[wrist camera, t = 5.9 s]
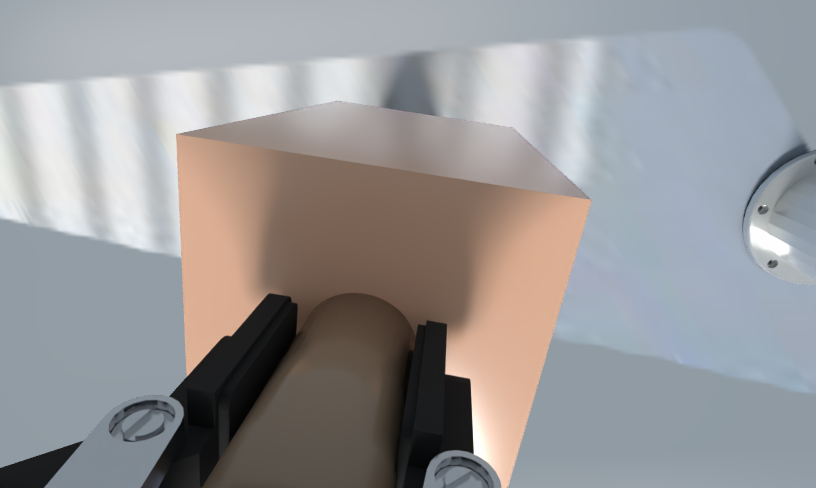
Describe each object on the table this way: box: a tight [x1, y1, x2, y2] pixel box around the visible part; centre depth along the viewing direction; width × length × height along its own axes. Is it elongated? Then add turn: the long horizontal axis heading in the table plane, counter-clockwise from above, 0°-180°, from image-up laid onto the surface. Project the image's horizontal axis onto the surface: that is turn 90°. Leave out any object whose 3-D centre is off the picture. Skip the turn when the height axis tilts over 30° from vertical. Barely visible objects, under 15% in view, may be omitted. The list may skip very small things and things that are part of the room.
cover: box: [176, 101, 592, 488], centre depth 17 cm, size 10×10×22 cm
